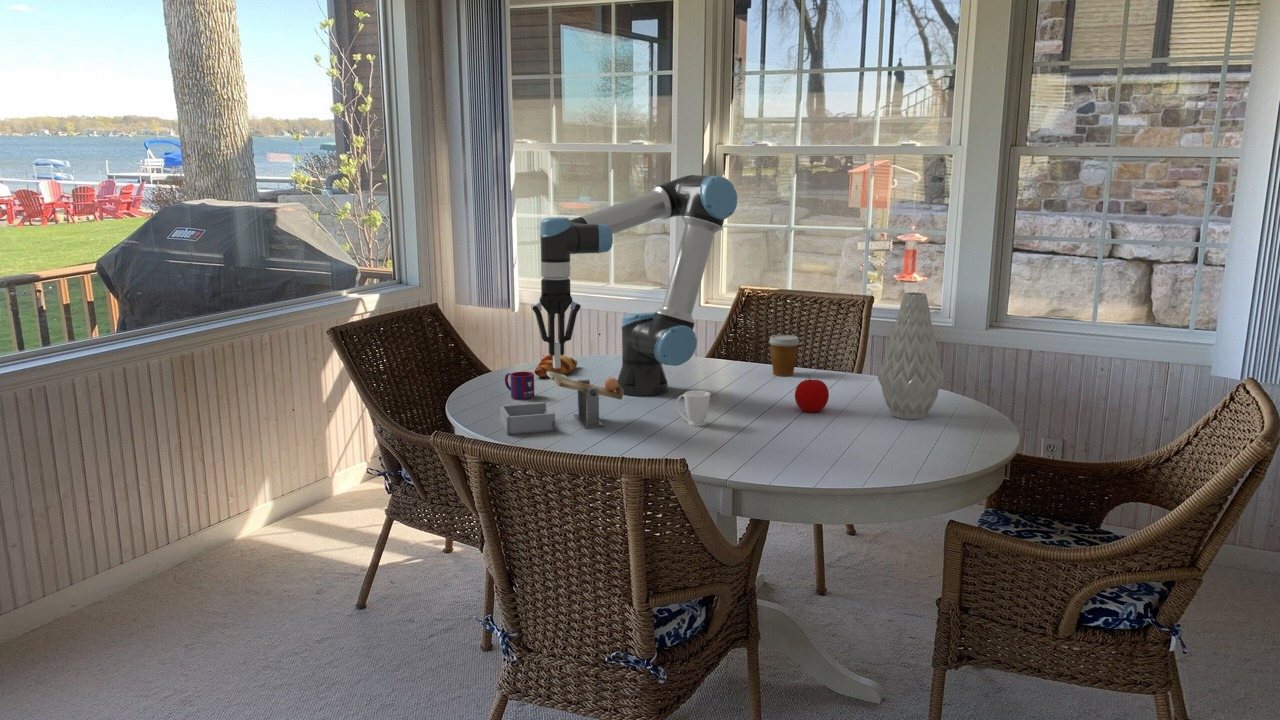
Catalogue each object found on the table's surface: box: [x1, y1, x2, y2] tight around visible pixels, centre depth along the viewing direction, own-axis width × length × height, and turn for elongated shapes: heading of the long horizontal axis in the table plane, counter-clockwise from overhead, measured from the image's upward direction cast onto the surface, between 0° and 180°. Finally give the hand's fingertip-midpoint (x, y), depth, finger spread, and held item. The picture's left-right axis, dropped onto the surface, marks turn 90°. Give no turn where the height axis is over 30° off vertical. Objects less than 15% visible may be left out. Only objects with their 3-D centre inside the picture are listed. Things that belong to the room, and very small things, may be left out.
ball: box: [604, 376, 618, 391], centre depth 249 cm, size 4×4×4 cm
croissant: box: [534, 354, 578, 378], centre depth 305 cm, size 21×10×8 cm, turn 149°
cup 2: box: [675, 390, 712, 427], centre depth 247 cm, size 7×10×8 cm
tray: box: [499, 401, 556, 436], centre depth 244 cm, size 12×12×4 cm
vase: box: [877, 291, 945, 420], centre depth 250 cm, size 17×17×33 cm
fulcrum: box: [573, 379, 605, 429], centre depth 248 cm, size 5×12×10 cm, turn 17°
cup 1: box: [504, 371, 535, 401], centre depth 275 cm, size 7×10×7 cm
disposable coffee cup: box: [768, 334, 800, 377], centre depth 302 cm, size 10×10×12 cm
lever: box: [547, 371, 624, 400], centre depth 250 cm, size 18×14×3 cm
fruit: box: [794, 374, 830, 413], centre depth 258 cm, size 9×9×10 cm
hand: (556, 367), depth 251 cm, fingers closed
